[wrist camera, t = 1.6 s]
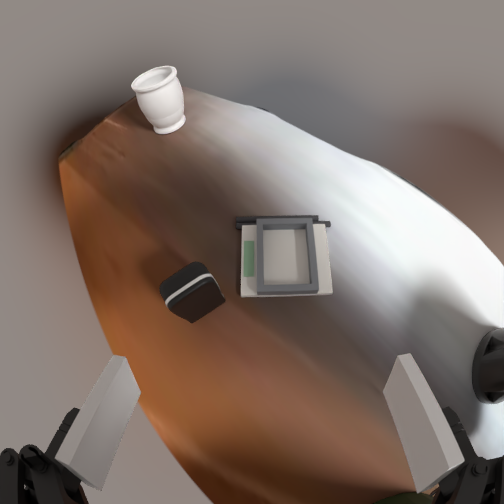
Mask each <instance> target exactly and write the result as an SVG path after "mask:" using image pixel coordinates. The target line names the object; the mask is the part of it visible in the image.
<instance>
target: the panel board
mask: <svg viewBox="0 0 504 504" xmlns="http://www.w3.org/2000/svg"><path fill="white" fill-rule="evenodd" d="M256 221H257V225H242V251H241V297H280V296H311V295H331V294H332V293H333V290H332V279H331V269H330V260H329V251H328V243H327V236H326V228H325V224H313V221H312V218H272V219H256Z"/></svg>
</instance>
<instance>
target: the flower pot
mask: <svg viewBox="0 0 504 504" xmlns="http://www.w3.org/2000/svg"><path fill="white" fill-rule="evenodd" d="M433 498H434V497H432V496H431V497H430V496H429V495H428V494H424V493H421V492H420V493H418V494H417V492H413V493H401V494H398V495H395V496H392V497H388V498H385V499H382V500H379V501H377V502H375V503H373V504H431V502H432V500H433Z"/></svg>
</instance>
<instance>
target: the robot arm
mask: <svg viewBox="0 0 504 504" xmlns="http://www.w3.org/2000/svg"><path fill="white" fill-rule="evenodd" d="M472 381H473V388H474V391H475V394H476V396H477V397H478V399H479V400H480V401H481V402H483V403H485V404H496V403H500V402H502V401H504V328H499V329H496V330H493V331H490V332H489V333H488V334H486V335H485V337H484V338H483V339H482V341H481V342H480V344H479V346H478V348H477V351H476V354H475V358H474V362H473V370H472ZM140 394H141V391H140V389H139V387H138V385H137V383H136V380H135V378H134V376H133V374H132V371H131V369H130V366H129V364H128V362H127V359H126V357H122V356H116V355H113V356H112V358H111V359H110V361H109V362H108V364H107V366H106V367H105V369H104V371H103V372H102V374H101V375H100V377H99V379H98V380H97V382H96V384H95V385H94V387H93V389H92V390H91V392H90V394H89V395H88V397H87V399H86V401H85V402H84V404H83V406H82V408H81V409H77V408H73V409H72V410H71V411H70V412H68V413H67V415H66V416H65V418H64V420H63V421H62V424H61V425H60V427H59V430H57V432H56V434H55V436H54V438H53V439H52V441H51V443H50V445H49V447H48V449H47V451H46V452H45V453H43V452H42V451H41V450H40V449H39V448H37V446H34V445H26V446H24V447H23V448H22V449H21V450H20V453H19V454H18V453H17V452H16V451H15V450H14V449H11V448H6V449H5V450H3V451H2V453H1V455H0V504H89V503H88V501H87V498H86V496H85V493H84V491H83V488H82V486H81V485H80V482H81V481H83V482H84V483H85V484H87V485H88V486H90V487H93V488H95V489H97V490H100V491H102V488H103V485H104V482H105V479H106V477H107V474H108V472H109V469H110V467H111V464H112V461H113V458H114V456H115V454H116V451H117V449H118V446H119V443H120V441H121V438H122V436H123V434H124V431H125V429H126V427H127V424H128V422H129V419H130V417H131V415H132V412H133V410H134V408H135V405H136V403H137V401H138V398H139V396H140ZM383 394H384V396H385V399H386V401H387V404H388V407H389V409H390V412H391V415H392V417H393V420H394V423H395V425H396V428H397V431H398V434H399V437H400V440H401V443H402V445H403V448H404V451H405V454H406V458H407V461H408V464H409V467H410V470H411V473H412V477H413V480H414V484H415V487H416V491H417V494H418V493H420V492H423V491H425V490H428V489H430V488H432V487H434V486H435V485H436V484H438V483H439V487H438V488H437V489H435V490H434V491H433V492H431V494H430V495H429V496H430V497H431V496H432V495H434V494H435V493H436V494H435V496H434V498H433V500H432V502H431V504H504V455H503V456H502V457H499V458H495V459H490V460H486V459H485V458H483V457H478V456H477V455H476V453H475V451H474V449H473V447H472V445H471V443H470V440H469V438H468V436H467V434H466V432H465V430H463V429H464V428H463V426H462V424H460V420H459V418H458V416H457V414H456V413H455V412H454V411H453V410H452V409H451V408H449V407H446V408H444V409H441V408H440V406H439V404H438V402H437V400H436V398H435V396H434V394H433V393H432V391H431V389H430V387H429V385H428V383H427V381H426V380H425V378H424V376H423V374H422V372H421V371H420V369H419V367H418V365H417V364H416V362H415V360H414V358H413V357H412V355H411V353H408V354H403V355H397V358H396V361H395V363H394V366H393V368H392V371H391V373H390V376H389V378H388V381H387V383H386V385H385V388H384V390H383ZM24 484H25V485H26V487H25V489H24ZM494 489H495V490H494Z"/></svg>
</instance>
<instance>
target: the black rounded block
mask: <svg viewBox="0 0 504 504" xmlns="http://www.w3.org/2000/svg"><path fill="white" fill-rule="evenodd" d="M159 289H160V294H161V296H162V298H163V299H164V301H165V304H166V306H167V308H168V309H169V310H170V311H171V312H173V313H174V314H176V315H177V316H179V317H181V318H183V319H186V320H187V321H189V322H190V323H194V322H195V321H197V320H198V319H200V318H201V317H203V316H204V315H206V314H207V313H209V312H210V311H212V310H213V309H215V308H216V307H218V306H219V305H221V304H222V303H224V302H225V298H224V295H223V294H222V293H221V290H220V288H219V285H218V283H217V282H216V280H215V279H214V277H213V276H212V275H211V274H210V272H209V271H208V270H207V268H206V267H205V266H204V265H203V264H202V263H200V262H192V263H190V264H189V265H187V266H186V267H184V268H182V269H181V270H179V271H178V272H176V273H175V274H173V275H172V276H170V277H169V278H168V279H166V280H165V281H163V282H162V283H161V285H160V288H159Z"/></svg>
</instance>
